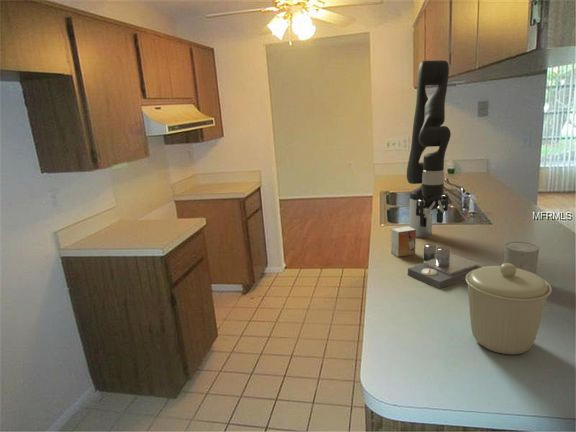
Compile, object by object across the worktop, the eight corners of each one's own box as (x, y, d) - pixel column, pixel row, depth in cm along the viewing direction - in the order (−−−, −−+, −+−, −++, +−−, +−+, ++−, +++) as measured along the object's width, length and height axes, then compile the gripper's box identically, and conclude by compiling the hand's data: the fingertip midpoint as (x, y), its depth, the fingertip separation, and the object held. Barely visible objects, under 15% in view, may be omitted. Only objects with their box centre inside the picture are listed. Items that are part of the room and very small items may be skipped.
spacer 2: (441, 261, 141) (442, 245, 139) (452, 265, 137) (453, 249, 136) (433, 264, 139) (433, 248, 137) (443, 268, 135) (444, 252, 134)
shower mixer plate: (450, 255, 148) (450, 253, 148) (478, 265, 138) (478, 263, 138) (423, 264, 142) (423, 261, 142) (451, 275, 132) (451, 272, 131)
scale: (448, 261, 150) (448, 253, 149) (481, 273, 138) (482, 265, 137) (407, 274, 141) (407, 266, 140) (439, 288, 129) (439, 280, 128)
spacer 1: (429, 257, 155) (429, 242, 154) (438, 260, 151) (438, 245, 150) (421, 259, 153) (421, 245, 152) (430, 263, 149) (430, 248, 148)
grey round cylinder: (505, 273, 137) (508, 239, 134) (537, 279, 131) (541, 244, 128) (498, 283, 130) (502, 248, 127) (532, 290, 124) (536, 253, 121)
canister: (473, 316, 111) (478, 246, 106) (549, 337, 100) (559, 259, 94) (451, 347, 98) (456, 268, 92) (536, 375, 86) (547, 287, 81)
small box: (397, 257, 157) (398, 232, 154) (390, 252, 162) (390, 228, 159) (415, 254, 159) (416, 229, 156) (408, 250, 164) (408, 225, 161)
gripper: (427, 186, 138) (425, 230, 142) (454, 180, 144) (452, 223, 148) (411, 183, 144) (410, 226, 148) (438, 178, 151) (436, 219, 155)
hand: (431, 224), depth 148 cm, fingers open, 8 cm apart
